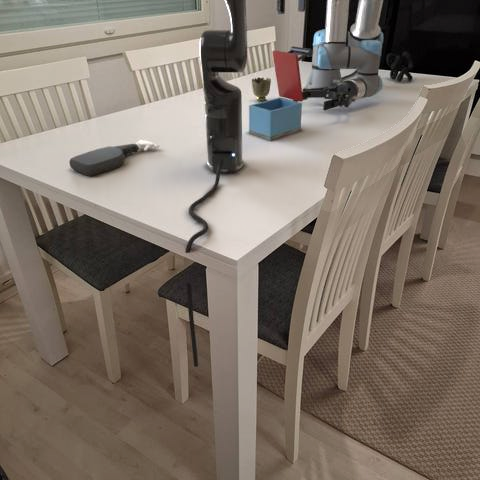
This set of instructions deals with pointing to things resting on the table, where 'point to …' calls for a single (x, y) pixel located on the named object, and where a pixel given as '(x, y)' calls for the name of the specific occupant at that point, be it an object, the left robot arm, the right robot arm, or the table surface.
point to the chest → (275, 118)
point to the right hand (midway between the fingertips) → (308, 101)
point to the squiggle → (399, 66)
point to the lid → (290, 72)
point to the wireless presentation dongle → (106, 157)
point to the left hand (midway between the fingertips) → (291, 12)
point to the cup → (261, 88)
